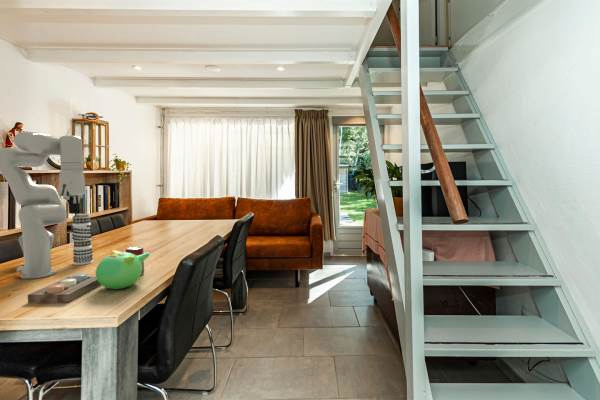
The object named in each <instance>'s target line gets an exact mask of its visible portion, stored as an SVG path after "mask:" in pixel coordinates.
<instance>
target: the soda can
mask: <svg viewBox="0 0 600 400" xmlns="http://www.w3.org/2000/svg"><path fill="white" fill-rule="evenodd" d="M144 250H145V249H144V247H142V246H132V247H131V246H130V247H127V248H126V249H125V251H124V252H128V253H132V254H134V255H136V256H138V255H141V254H144V253H145V252H144ZM144 274H145V260H144V261H143V262H142V273H141V275H140V276H142V275H144Z"/></svg>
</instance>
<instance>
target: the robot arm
mask: <svg viewBox="0 0 600 400" xmlns="http://www.w3.org/2000/svg"><path fill="white" fill-rule="evenodd" d="M13 143H14V146H16V147H3V148H0V174H1V175H2V176H3V177H4V179H5V180H6V182H7V184H8V185H9V188H10V190H11V193H12V194H13V197H14V199H15V201H16V203H17V204H18V205H20V206H21V208H20V209H19V211H18V220H19V223H20V227H21V235H23V250H22V252H23V251H24V252H23V265H19V266H18V267H17V268H16V271H17V272H21V274H20V275H19V277H20V279H23V280H32V279H42V278H46V277H50V276H53V275H55V274H56V269H52V258H51V257H52V255H51V251H50V236H49V233H48V232H47V231H48V230H47V229H46V228H45V226H47V225H57V224H63V222H65V221H66V219H67V215H68V214H71V215H72V214H74V215H75V214H80V203H81V199H83V198H84V195H85V194H86V181H85V175H84V156H83V155H84V154H83V153H84V152H83V139H82V138H81V137H80V136H77V135H62V136H58V135H51V134H49V133H45V132H36V131H35V132H33V131H21V132H18V133H16V134H15V136H14V137H13ZM50 156H59V157H60V159H59V160H60V171H59V175H58V176H59V177H58V190H57V188H56V187H55V186H53V185H50V184H46V183H45V184H44V183H43V184H40V183H39V184H37V183H34V181H33V179H32V177H31V176H30V174H28V173H27V172H26V171H25V170H24V169H22V167H23V168H26V167H28V168H39V167H41V166H43V165H44V164H45V163H46V162H47V160H48V159H49V157H50ZM61 197H62V198H63V200H66V202H67V204H68V214H67V209H66V207H65V204H64V203H63V201H62V199H61ZM43 226H44V227H43ZM41 277H42V278H41Z"/></svg>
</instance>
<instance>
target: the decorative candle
mask: <svg viewBox="0 0 600 400" xmlns="http://www.w3.org/2000/svg"><path fill="white" fill-rule="evenodd" d="M71 218H72V224H71V225H72V226H71V228H70V229H71V236H72V237H71V239H72V242H73V249H72V255H74V256H73V257H72V258H73V265H78V266H81V265H88V264H92V263H93V262H94V257H93V256H94V255H93V248H92V247H93V246H92V239H93V236H92V234H93V232H92V231H93V229H92V227H93V225H92V223H91V216H90V215H89V214H88V213H76V214H74V215H73V217H71Z"/></svg>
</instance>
